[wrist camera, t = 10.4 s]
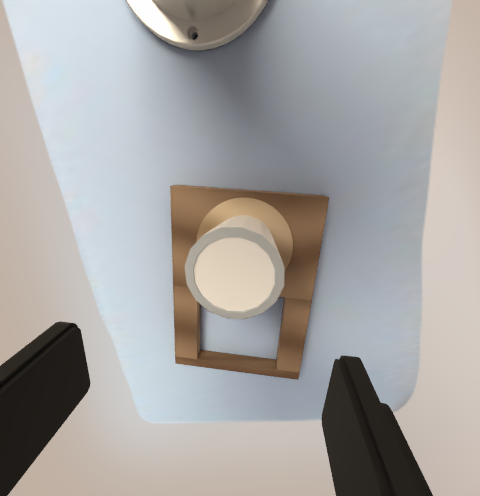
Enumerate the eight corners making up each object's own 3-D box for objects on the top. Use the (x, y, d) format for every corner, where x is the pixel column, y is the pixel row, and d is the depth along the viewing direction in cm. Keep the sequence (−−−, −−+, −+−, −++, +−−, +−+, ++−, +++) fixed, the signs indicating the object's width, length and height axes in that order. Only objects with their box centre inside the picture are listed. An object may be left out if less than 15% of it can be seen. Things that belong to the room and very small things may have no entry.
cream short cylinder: (217, 283, 25) (199, 326, 19) (198, 216, 23) (170, 238, 17) (287, 272, 24) (293, 313, 18) (273, 200, 22) (274, 216, 16)
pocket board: (176, 184, 25) (169, 186, 23) (325, 195, 23) (329, 198, 22) (179, 354, 31) (174, 365, 29) (296, 369, 30) (298, 381, 28)
